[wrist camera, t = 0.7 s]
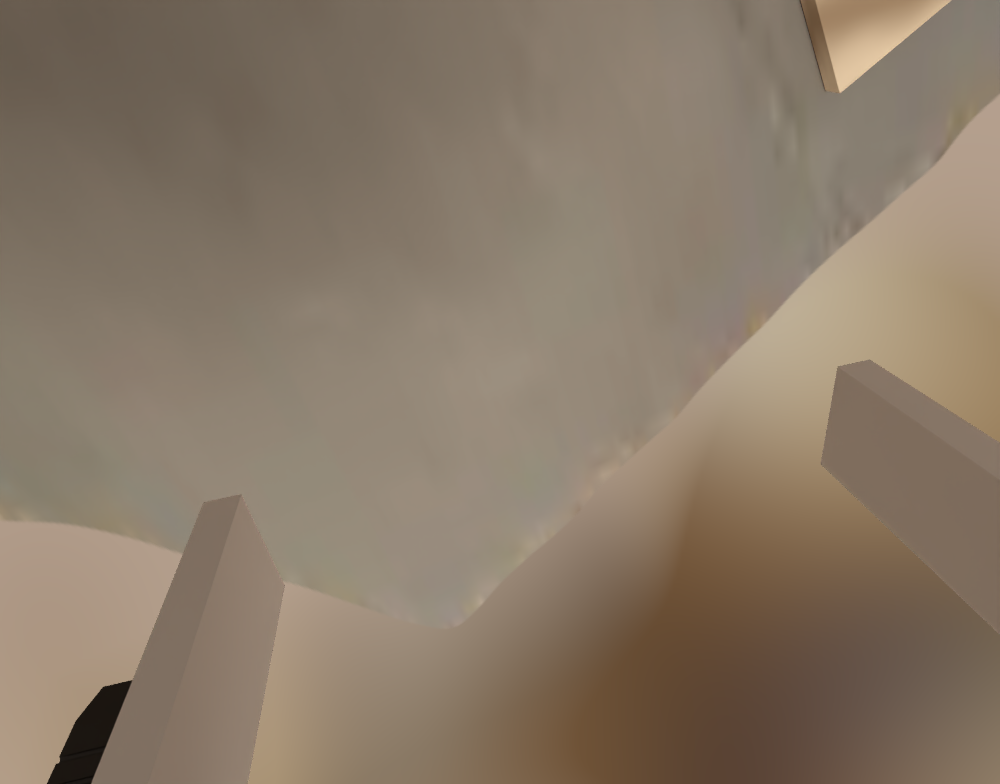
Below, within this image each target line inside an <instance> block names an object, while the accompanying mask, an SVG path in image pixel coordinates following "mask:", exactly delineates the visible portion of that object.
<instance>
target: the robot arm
mask: <svg viewBox="0 0 1000 784" xmlns="http://www.w3.org/2000/svg"><path fill="white" fill-rule="evenodd" d="M821 465H822V466H823V467H824V468H825V469H826V470H827V471H829V473H830V474H832V475H833V476H834V477H835V478H836V479H837V480H838V481H839V482H840V483H841V484H842V485H843V486H844V487H845V488H846V489H847V490H849V492H851V493H852V494H853V495H854V496H855V497H856V498H857V499H858V500H859V501H860V502H861V503H862V504H863V505H864V506H865V507H866V508H867V509H868V510H869V511H870V512H871V513H873V514H874V515H875V516H876V517H877V518H878V519H879V520H880V521H881V522H882V523H883V524H884V525H885V526H886V527H887V528H888V529H889V530H891V532H892V533H894V534H895V535H896V536H897V537H898V538H899V539H900V540H901V541H902V542H903V543H904V544H905V545H906V546H907V547H908V548H909V549H910V550H911V551H912V552H914V553H915V554H916V555H917V556H918V557H919V558H920V559H921V560H922V561H923V562H924V563H925V564H926V565H927V566H928V567H929V568H930V569H931V570H932V571H933V572H935V573H936V574H937V575H938V576H939V577H940V578H941V579H942V580H943V581H944V582H945V583H946V584H947V585H948V586H949V587H950V588H951V589H952V590H953V591H954V592H956V593H957V594H958V595H959V596H960V597H961V598H962V599H963V600H964V601H965V602H966V603H967V604H968V605H969V606H970V607H971V608H972V609H973V610H975V611H976V612H977V613H978V614H979V615H980V616H981V617H982V618H983V619H984V620H985V621H986V622H987V623H988V624H989V625H990V626H991V627H992V628H994V629H995V630H996V631H997V632H998V633H999V634H1000V443H999V442H998V441H996V440H994V439H993V438H991V437H990V436H988V435H987V434H985V433H984V432H982V431H981V430H979V429H977V428H976V427H974V426H973V425H971V424H970V423H968V422H966V421H965V420H963V419H962V418H960V417H958V416H957V415H956V414H954V413H952V412H951V411H949V410H948V409H946V408H945V407H943V406H941V405H940V404H938V403H937V402H935V401H933V400H932V399H931V398H929V397H927V396H926V395H924V394H923V393H921V392H920V391H918V390H916V389H915V388H913V387H912V386H910V385H909V384H907V383H905V382H904V381H902V380H901V379H899V378H898V377H896V376H895V375H893V374H891V373H890V372H888V371H887V370H885V369H884V368H882V367H880V366H879V365H877V364H876V363H874V362H873V361H871V360H866V361H861V362H857V363H852V364H847V365H843V366H838V368H837V374H836V379H835V385H834V391H833V396H832V402H831V408H830V414H829V419H828V425H827V431H826V437H825V443H824V449H823V454H822V460H821ZM284 586H285V585H284V583H283V581H282V579H281V577H280V575H279V572H278V570H277V568H276V566H275V564H274V562H273V560H272V558H271V556H270V554H269V551H268V549H267V547H266V545H265V543H264V541H263V539H262V537H261V535H260V532H259V530H258V528H257V526H256V524H255V522H254V520H253V518H252V516H251V514H250V511H249V509H248V507H247V505H246V503H245V501H244V499H243V497H242V495H236V496H231V497H227V498H222V499H217V500H213V501H208V502H204V503H203V506H202V508H201V510H200V513H199V515H198V518H197V520H196V523H195V525H194V528H193V530H192V533H191V535H190V538H189V540H188V543H187V545H186V548H185V550H184V553H183V555H182V558H181V560H180V563H179V565H178V568H177V570H176V573H175V576H174V578H173V581H172V583H171V586H170V588H169V591H168V593H167V595H166V598H165V600H164V603H163V605H162V608H161V610H160V613H159V616H158V618H157V620H156V623H155V626H154V628H153V630H152V633H151V635H150V638H149V641H148V643H147V645H146V648H145V651H144V653H143V655H142V658H141V660H140V663H139V665H138V668H137V671H136V673H135V676H134V678H133V680H131V681H127V682H122V683H118V684H114V685H110V686H105V687H103V688H102V689H101V690H100V692H99V693H98V694H97V695H96V696H95V698H94V699H93V700H92V701H91V703H90V704H89V705H88V706H87V708H86V709H85V710H84V711H83V713H82V714H81V715H80V717H79V718H78V719H77V720H76V722H75V724H74V726H73V728H72V730H71V733H70V735H69V738H68V739H67V741H66V743H65V746H64V748H63V750H62V752H61V754H60V762H59V763H58V764H56V765H55V768H54V770H53V772H52V774H51V776H50V778H49V780H48V783H47V784H248V779H249V774H250V768H251V763H252V758H253V752H254V747H255V741H256V736H257V730H258V725H259V720H260V715H261V710H262V704H263V698H264V694H265V688H266V683H267V677H268V671H269V666H270V661H271V656H272V651H273V645H274V640H275V634H276V629H277V624H278V619H279V613H280V608H281V602H282V597H283V592H284Z"/></svg>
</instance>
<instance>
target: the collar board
mask: <svg viewBox="0 0 1000 784" xmlns="http://www.w3.org/2000/svg"><path fill="white" fill-rule="evenodd" d="M800 1H801V5H802V8H803V12H804V15H805V19H806V23H807V26H808V30H809V33H810V37H811V41H812V44H813V48H814V51H815V55H816V58H817V62H818V66H819V69H820V73H821V76H822V80H823V84H824V87H825V91H830V92H835V93H841V92H842V91H843V90H844V89H846V88H847V87H848V86H849V85H850V84H852V83H853V82H854V81H855V80H856V79H858V78H859V77H860V76H861V75H862V74H864V73H865V72H866V71H867V70H868V69H870V68H871V67H872V66H873V65H874V64H876V63H877V62H878V61H879V60H880V59H882V58H883V57H884V56H885V55H886V54H888V53H889V52H890V51H891V50H892V49H894V48H895V47H896V46H897V45H898V44H899V43H901V42H902V41H903V40H904V39H905V38H907V37H908V36H909V35H910V34H911V33H913V32H914V31H915V30H916V29H917V28H919V27H920V26H921V25H922V24H923V23H925V22H926V21H927V20H928V19H929V18H931V17H932V16H933V15H934V14H935V13H937V12H938V11H939V10H940V9H941V8H943V7H944V6H945V5H946V4H947V3H949V2H950V1H951V0H800Z"/></svg>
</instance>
